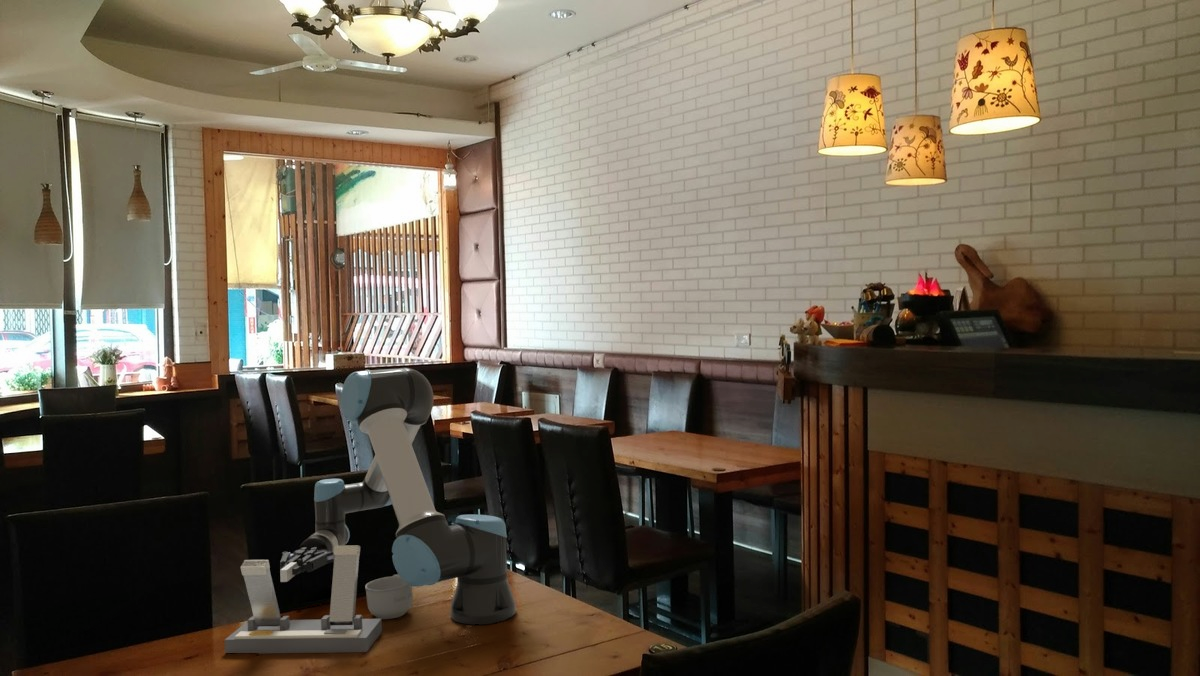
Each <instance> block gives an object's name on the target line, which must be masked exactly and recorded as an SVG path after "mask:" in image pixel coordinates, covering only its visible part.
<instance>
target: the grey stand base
mask: <svg viewBox="0 0 1200 676" xmlns="http://www.w3.org/2000/svg"><path fill="white" fill-rule="evenodd" d="M329 618H330V614H329V615H328V614H327V615H326V614H325V615H323V616H322V618H321V619H290V615H283V616H282V617H281V619H280V626H261V627H258V626H257V625H256V624H255V620H254V616H253V615H252V616H250V617H249V618H247V621H246V622H245V623H243V624H242V625H241V626H240V627H238V628H237V629H236V630H234V632H232V633H231V634H229V636H227V637H226V638H225V639H224V654H225V653H258V654H312V653H313V654H315V653H316V654H323V653H324V654H325V653H326V654H327V653H328V654H329V653H367V652H368V651H369V650H370V648H371V646H372V645H374V643H375V642H376V640H377V639H378V638H379V636H380V635H381V634H382V633H383V623H382V620H383V619H379V618H363V614H356V615H355V617H354V618H353V625H336V626H331V625H330V622H329Z"/></svg>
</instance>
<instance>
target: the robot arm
mask: <svg viewBox="0 0 1200 676" xmlns="http://www.w3.org/2000/svg"><path fill="white" fill-rule="evenodd" d="M340 397H341V398H340V402H341V403H340V404H341V410H342V414H343V416H344V417H345V419H346V420H348V421H351V422H355V421H356V423H357V426H358V427H359V431H360V432H361V433H363V434H366V435H367V436H368V437H369V439H370V440H369V441H370V443H371V445H372V446H371V447H372V449H373V451H374V457H373V459H372V461H371V463H370V466H369V468H368V471H367V472H366V475H365V477H364V478H363V481H362V482H361V481H360V482H355V483H350V484H345V481H344V480H343V479H342V478H326V479H321V480H319V481H316V482H315V485H314V493H313V495H314V497H313V501H314V513H315V514H314V515H315V525H314V526H315V532H314V533H312V534H311V535H310V536H309V537H308V538H306V539H305V540H304V541H303V542H301V544H300V545H299V548H298V549H296V550H294V551H293V552H292V553H291V552H290V551H289V552H288V551H283V552H281V554H282V555H281V559H280V561H279V562H280V563H279V565H280V566H279V570H280V571H279V573H280V583H287V582H289V581H290V580H291V579H292V578H293V577H295V576H297V575H299V574H302V573H304V572H305V571H306V573H310V572H314V571H315V570H317V569H319V568H321V567H323V566H325V565H328V564H330V563H334V556H335V555H334V549H335V546H346V545H347V543H348V542H349V539H350V537H351V534H350V530H349V527H348V526H347V524H346V514H349V513H356V512H361V511H366V510H374V509H381V508H383V507H388V506H390V505H392V507H393V510H394V513H395V517H396V518H397V521H398V524H399V526H398V528H397V530H396V532H395V537H396V538H395V540H394V541H393V543H392V546H391V553H392V555H391V556H392V557H391V558H392V563H393V567H394V568H395V570H396V572H397V574H398V575H399V576H400V577H401V578H402V579H403V580H404V581H405V582H406V583H408V584H410V585H411V586H412V587H417V588H418V587H423V586H425V587H426V586H433V585H436V583H442V582H445V581H449V580H453V579H456V578H457V580H456V581H457V583H456V586H455V590H454V595H453V597H452V600H451V603H450V619H452V620H453V621H454V622H457V623H460V624H463V625H464V624H466V625H475V624H479V625H489V624H490V625H491V624H496V623H495V622H497V623H500V621H501V622H504V621H507V620H508V618H509V619H511V618H513V617H514V616H515V615H514V614H516V612H517V611H516V610H517V609H516V601H515V599H514V595H513V592H512V589H511V587H510V583H509V581H508V562H507V561H508V556H507V555H508V554H507V552H508V551H507V549H508V548H507V538H508V535H507V527H506V526H507V525H506V522H505V521H504V520H503V518H501V517H498V516H494V515H487V514H475V513H474V514H460V515H458V516H457V517H456V518H455V521H454V523H455V524H454V525H453V524H452V525H449V524H448V520H447V518H446V515H445V514H444V513H441V512H438V511H437V510H436V508H435V505H434V502H433V500H432V497H431V495H430V490H429V488H428V486H427V483H426V480H425V478H424V475H423V472H422V469H421V467H420V464H419V462H418V458H417V456H416V453H415V450H414V448H413V442H414V441H415V437H416V436H417V433H418V431H419V430H420V428H421V426H422V425H425V424H426V423H427V421H429V417H430V415H431V414H432V411H433V408H434V401H435V400H434V392H433V388H432V385H431V383H430V381H429V380H428V379H427V377H426V376H425V375H424V374H423V373H421V372H420V371H418V370H416V369H414V368H409V367H400V368H388V369H386V368H385V369H373V370H370V369H365V370H359V371H354V372H352V373H350V374H348V376H347V377H346V379H345V380H344V383H343V386H342V389H341V396H340ZM513 615H514V616H513ZM510 617H511V618H510ZM506 619H507V620H506Z"/></svg>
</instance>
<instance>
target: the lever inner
mask: <svg viewBox="0 0 1200 676" xmlns="http://www.w3.org/2000/svg"><path fill="white" fill-rule="evenodd" d="M360 553H361V546H360V545H357V544H356V545H347V544H346V545H345V546H335V549H334V562H333V569H332V571H333V572H332V584H331V595H330V596H331V597H330V604H329V605H330V608H329V615H330V618H329V622H330V625H331V626H336V625H353V618H354V617H355V616H356V615H355V614H356V603H357V592H358V589H357V588H358V577H359V575H358V574H359V565H360V564H359V563H360V561H359V560H360V555H361V554H360Z"/></svg>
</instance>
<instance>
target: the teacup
mask: <svg viewBox="0 0 1200 676" xmlns="http://www.w3.org/2000/svg"><path fill="white" fill-rule="evenodd" d="M364 586H365V587H364V588H365V594H366V595H365V596H366V604H367V608H368V611H369V612H370V614H371V615H373V616H375V617H376V619H382V620H390V619H396V618H400V617H402V616H404V615H405V614H406V613H407V612H408V611H409V610H410V608H412V606H413V599H414V597H413V586H411V585H410V584H408V583H406V582H405V581H404V580H403V579H402V578H401V577H400V576H399V574H398V573H397V574H393V575H392V576H391V575H390V576H384V577H380V578H377V579H374V580H371V581H369V582H367V583H366V584H365V585H364Z"/></svg>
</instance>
